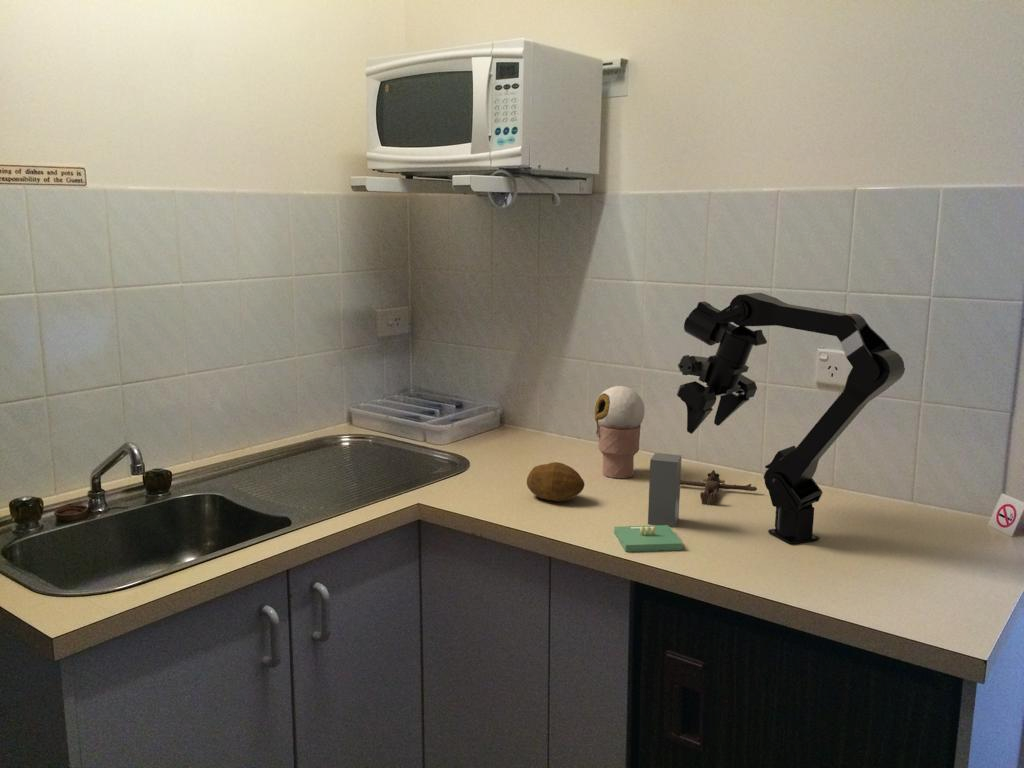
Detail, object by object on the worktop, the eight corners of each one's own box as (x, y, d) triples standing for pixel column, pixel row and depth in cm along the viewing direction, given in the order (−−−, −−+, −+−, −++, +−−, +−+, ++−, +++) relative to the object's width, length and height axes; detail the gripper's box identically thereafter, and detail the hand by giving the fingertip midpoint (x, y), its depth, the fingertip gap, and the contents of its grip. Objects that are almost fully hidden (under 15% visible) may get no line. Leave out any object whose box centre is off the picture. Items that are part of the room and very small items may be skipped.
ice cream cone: (583, 473, 194) (585, 385, 191) (616, 464, 201) (619, 380, 197) (618, 484, 186) (621, 393, 182) (652, 475, 193) (655, 387, 189)
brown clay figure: (664, 488, 176) (672, 462, 189) (663, 507, 177) (671, 480, 190) (756, 496, 171) (758, 469, 184) (755, 516, 172) (757, 488, 185)
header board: (667, 531, 159) (668, 517, 158) (682, 549, 150) (682, 535, 150) (614, 532, 158) (614, 519, 157) (625, 551, 149) (625, 537, 149)
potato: (532, 490, 183) (533, 454, 181) (589, 496, 178) (590, 460, 177) (519, 501, 175) (520, 464, 174) (579, 509, 171) (580, 471, 169)
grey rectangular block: (678, 518, 166) (681, 455, 163) (674, 527, 161) (677, 462, 159) (652, 515, 167) (655, 452, 165) (647, 524, 163) (650, 459, 160)
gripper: (724, 333, 172) (697, 401, 179) (668, 342, 159) (642, 415, 166) (770, 358, 166) (741, 428, 172) (717, 370, 153) (687, 445, 159)
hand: (703, 428), depth 168 cm, fingers open, 9 cm apart
